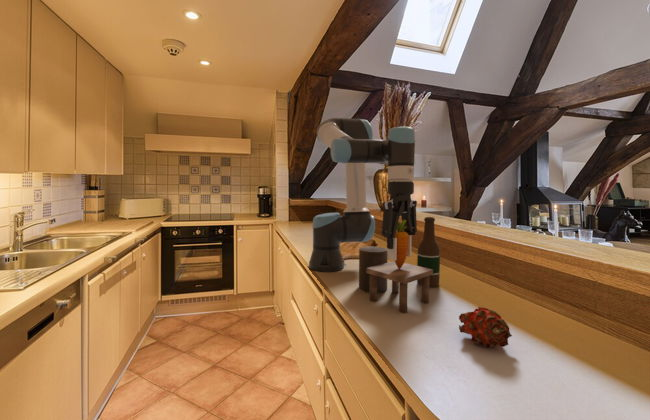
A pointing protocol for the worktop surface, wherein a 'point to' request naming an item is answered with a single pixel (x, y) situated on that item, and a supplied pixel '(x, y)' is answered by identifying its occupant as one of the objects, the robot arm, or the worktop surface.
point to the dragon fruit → (485, 327)
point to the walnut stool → (400, 280)
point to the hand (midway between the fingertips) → (399, 257)
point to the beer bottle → (429, 253)
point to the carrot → (401, 244)
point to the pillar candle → (369, 259)
